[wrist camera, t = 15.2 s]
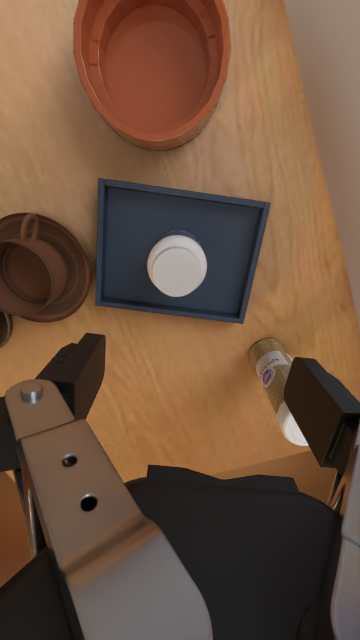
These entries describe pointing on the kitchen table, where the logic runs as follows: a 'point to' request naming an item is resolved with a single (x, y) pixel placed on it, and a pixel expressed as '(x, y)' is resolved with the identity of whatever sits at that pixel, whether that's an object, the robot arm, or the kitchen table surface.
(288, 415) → the sprinkles bottle
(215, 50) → the bowl
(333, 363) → the kitchen table surface
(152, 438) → the kitchen table surface
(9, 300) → the cup and saucer
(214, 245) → the tray
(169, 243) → the pill bottle
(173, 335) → the kitchen table surface
